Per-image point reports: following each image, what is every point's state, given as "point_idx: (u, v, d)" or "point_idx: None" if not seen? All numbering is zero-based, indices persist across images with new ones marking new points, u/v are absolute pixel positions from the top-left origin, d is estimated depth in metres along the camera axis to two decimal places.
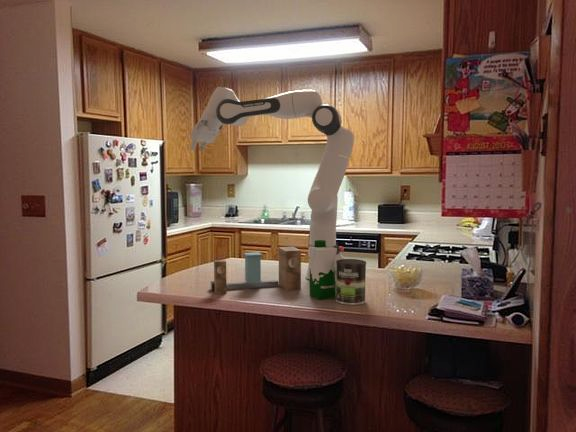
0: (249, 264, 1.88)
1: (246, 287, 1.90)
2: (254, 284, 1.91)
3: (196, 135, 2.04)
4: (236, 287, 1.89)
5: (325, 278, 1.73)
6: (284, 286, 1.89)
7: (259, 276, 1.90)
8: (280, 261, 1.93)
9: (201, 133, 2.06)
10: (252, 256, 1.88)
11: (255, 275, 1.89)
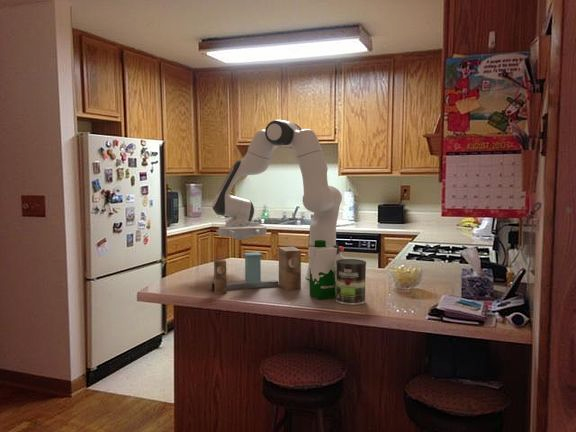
0: (249, 264, 1.88)
1: (246, 287, 1.90)
2: (254, 284, 1.91)
3: (219, 229, 2.05)
4: (236, 287, 1.89)
5: (325, 278, 1.73)
6: (284, 286, 1.89)
7: (259, 276, 1.90)
8: (280, 261, 1.93)
9: (223, 227, 2.07)
10: (252, 256, 1.88)
11: (255, 275, 1.89)
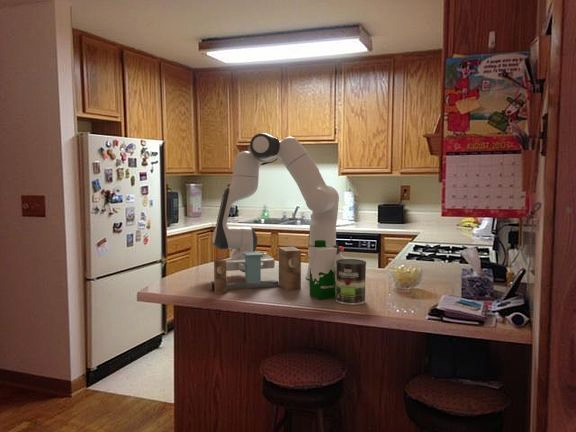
0: (249, 264, 1.88)
1: (246, 287, 1.90)
2: (254, 284, 1.91)
3: None
4: (236, 287, 1.89)
5: (325, 278, 1.73)
6: (284, 286, 1.89)
7: (259, 276, 1.90)
8: (280, 261, 1.93)
9: (229, 260, 1.96)
10: (252, 256, 1.88)
11: (255, 275, 1.89)
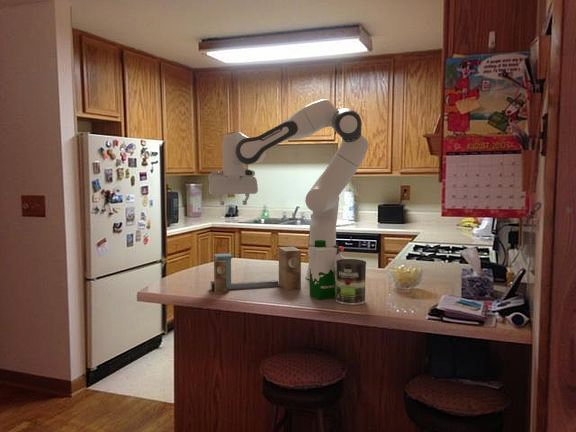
0: None
1: (246, 287, 1.90)
2: (254, 284, 1.91)
3: (209, 188, 2.00)
4: (236, 287, 1.89)
5: (325, 278, 1.73)
6: (284, 286, 1.89)
7: (229, 278, 1.86)
8: (280, 261, 1.93)
9: (215, 185, 2.00)
10: (222, 258, 1.84)
11: None
